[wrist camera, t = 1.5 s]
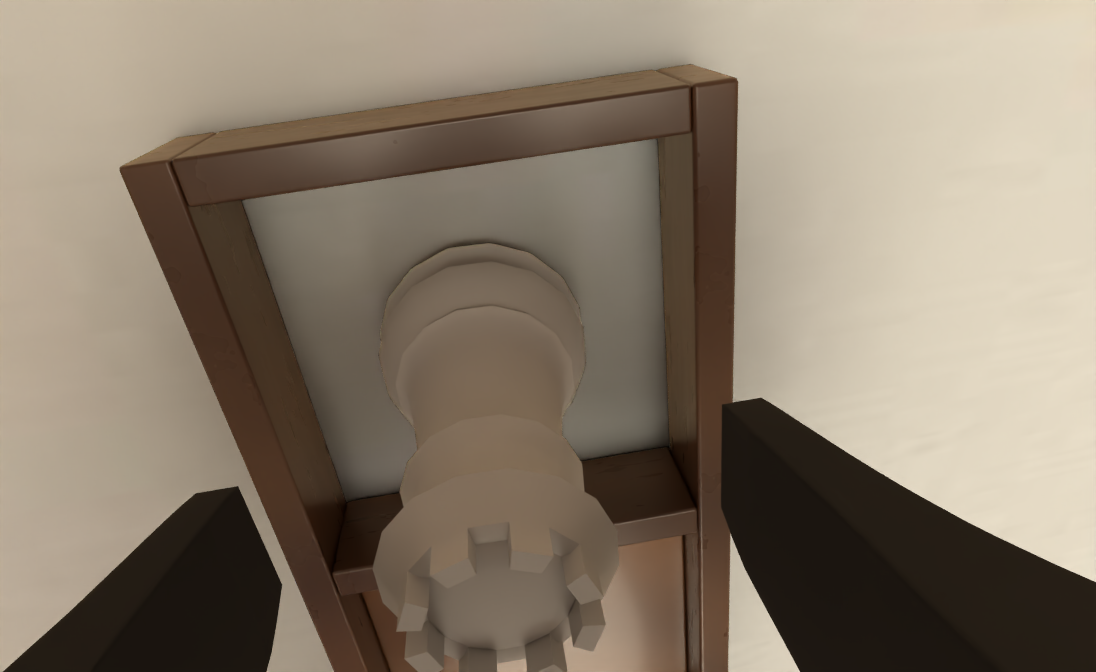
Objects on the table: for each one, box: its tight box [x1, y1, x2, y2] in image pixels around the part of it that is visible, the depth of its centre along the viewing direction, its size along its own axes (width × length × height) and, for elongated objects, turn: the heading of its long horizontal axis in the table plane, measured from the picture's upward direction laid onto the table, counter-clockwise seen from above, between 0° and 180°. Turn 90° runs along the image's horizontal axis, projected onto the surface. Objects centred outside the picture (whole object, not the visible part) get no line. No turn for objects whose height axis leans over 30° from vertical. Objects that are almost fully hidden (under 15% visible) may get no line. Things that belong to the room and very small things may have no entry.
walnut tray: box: [120, 64, 738, 672], centre depth 16 cm, size 19×10×2 cm, turn 7°
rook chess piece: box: [372, 243, 619, 672], centre depth 11 cm, size 4×4×8 cm
